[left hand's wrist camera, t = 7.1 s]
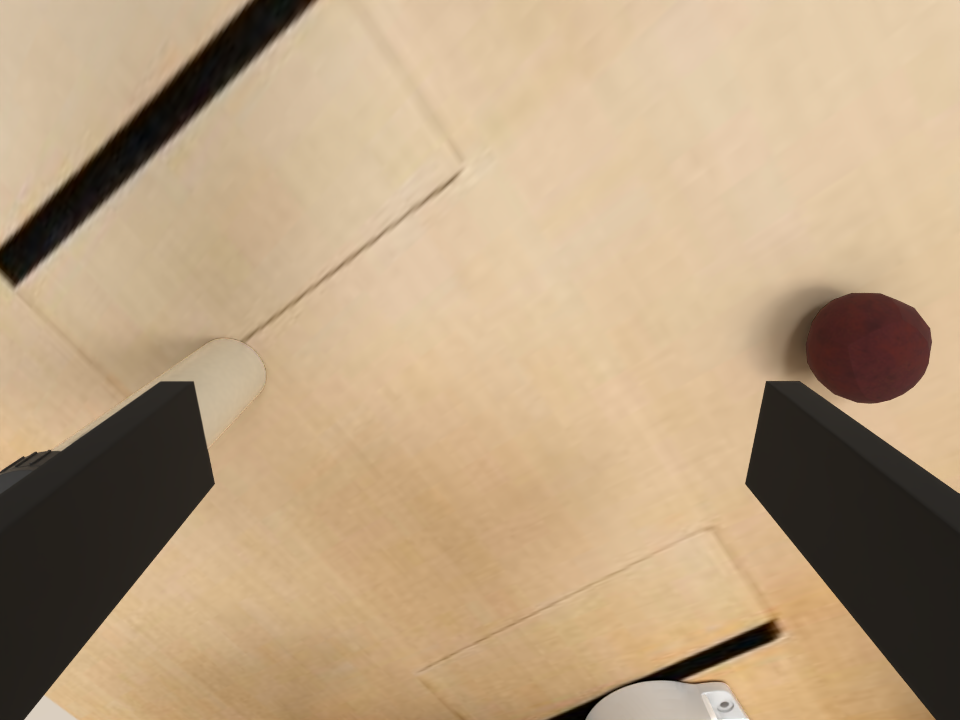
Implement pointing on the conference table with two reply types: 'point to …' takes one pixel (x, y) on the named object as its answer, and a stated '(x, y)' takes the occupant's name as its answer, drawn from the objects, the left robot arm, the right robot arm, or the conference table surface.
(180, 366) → the jar
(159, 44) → the conference table surface
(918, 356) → the dark red ball
